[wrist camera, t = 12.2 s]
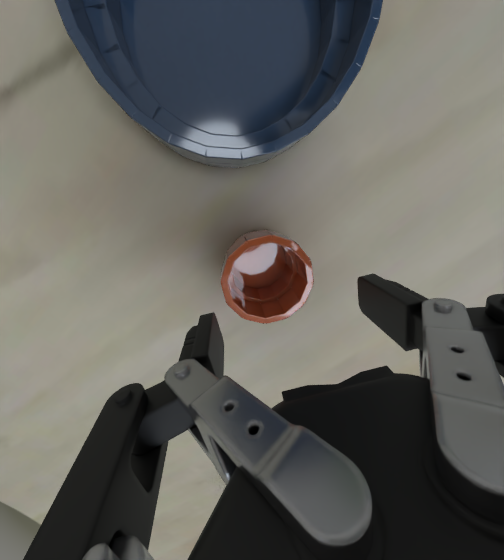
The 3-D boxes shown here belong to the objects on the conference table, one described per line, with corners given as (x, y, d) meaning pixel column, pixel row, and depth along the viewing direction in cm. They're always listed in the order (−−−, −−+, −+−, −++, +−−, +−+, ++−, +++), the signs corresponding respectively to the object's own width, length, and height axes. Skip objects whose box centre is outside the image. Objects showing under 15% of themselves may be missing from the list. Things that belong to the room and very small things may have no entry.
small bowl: (286, 218, 20) (307, 226, 15) (296, 284, 22) (317, 311, 17) (214, 235, 20) (210, 249, 15) (232, 300, 22) (234, 331, 17)
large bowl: (330, -183, 13) (390, -399, 8) (348, 143, 19) (389, 126, 14) (41, -128, 12) (-70, -321, 8) (151, 188, 18) (125, 186, 14)
